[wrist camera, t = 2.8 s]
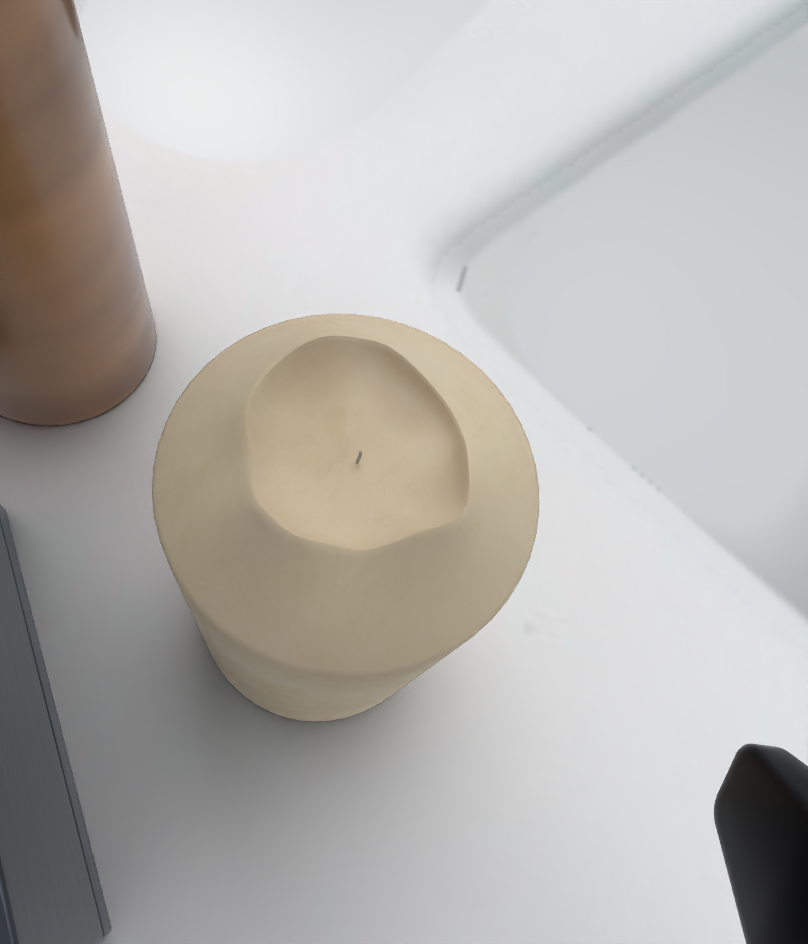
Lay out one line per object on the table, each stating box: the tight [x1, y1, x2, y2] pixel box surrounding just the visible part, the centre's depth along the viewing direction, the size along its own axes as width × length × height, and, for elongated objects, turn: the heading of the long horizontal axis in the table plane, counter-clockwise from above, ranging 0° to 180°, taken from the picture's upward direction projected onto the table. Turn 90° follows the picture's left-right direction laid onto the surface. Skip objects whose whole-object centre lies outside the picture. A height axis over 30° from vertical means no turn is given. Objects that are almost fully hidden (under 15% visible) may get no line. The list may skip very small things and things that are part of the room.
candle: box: [152, 314, 539, 722], centre depth 14 cm, size 6×6×10 cm
